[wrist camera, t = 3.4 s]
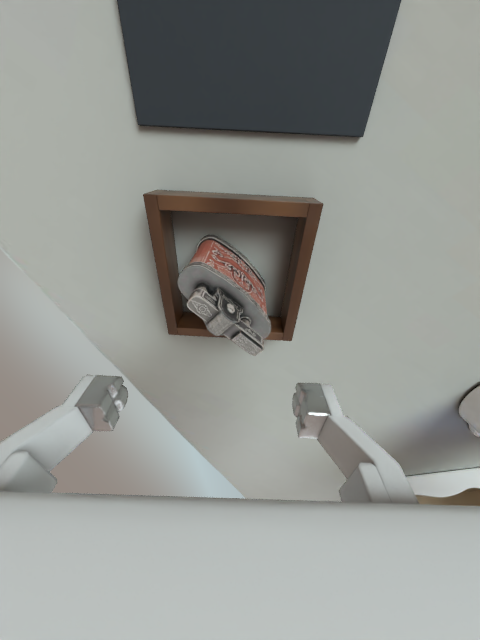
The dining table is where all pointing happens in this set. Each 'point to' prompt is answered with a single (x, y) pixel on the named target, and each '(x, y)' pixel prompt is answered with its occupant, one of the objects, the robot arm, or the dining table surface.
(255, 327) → the lighter
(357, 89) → the mat
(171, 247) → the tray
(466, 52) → the dining table surface
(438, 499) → the gable box
